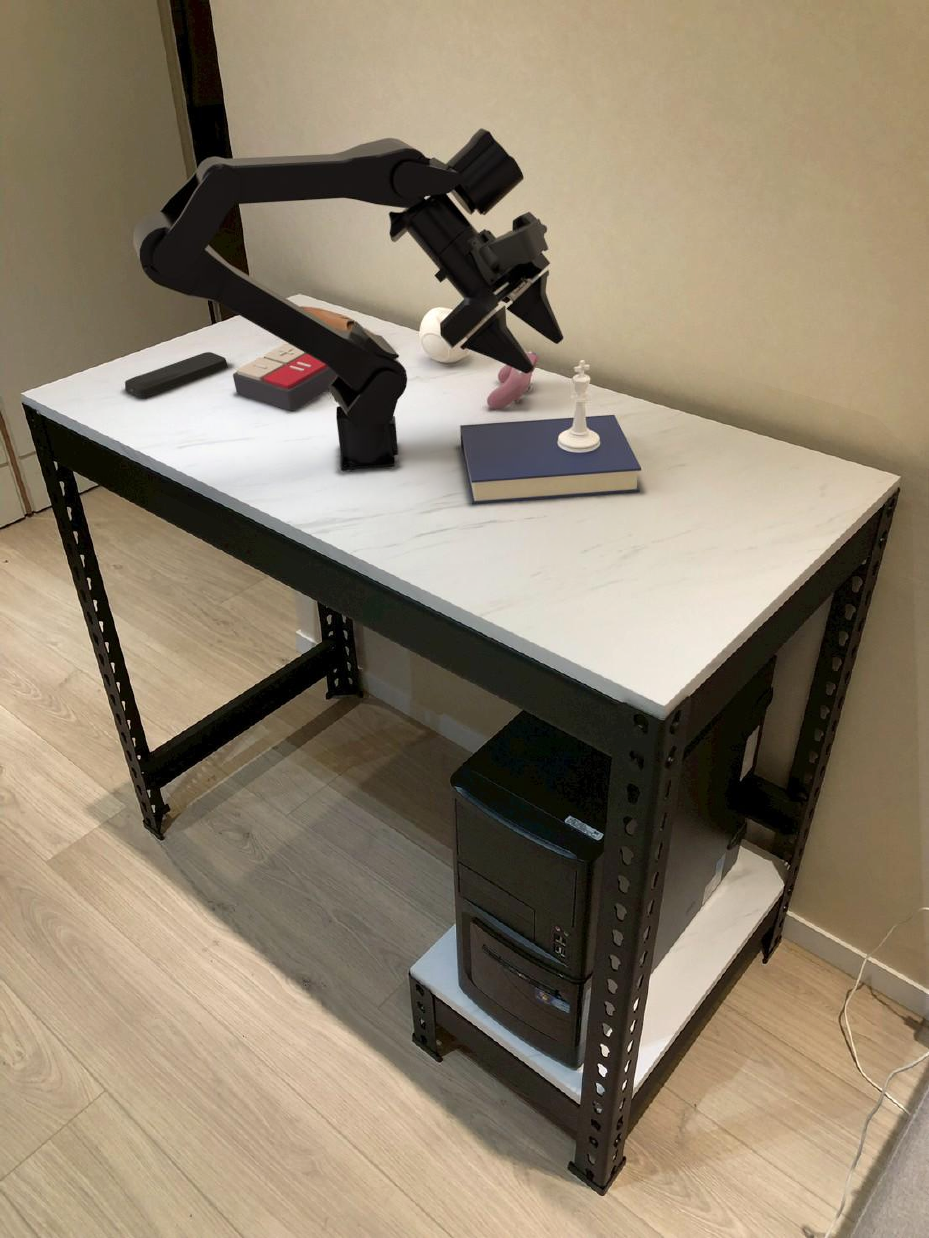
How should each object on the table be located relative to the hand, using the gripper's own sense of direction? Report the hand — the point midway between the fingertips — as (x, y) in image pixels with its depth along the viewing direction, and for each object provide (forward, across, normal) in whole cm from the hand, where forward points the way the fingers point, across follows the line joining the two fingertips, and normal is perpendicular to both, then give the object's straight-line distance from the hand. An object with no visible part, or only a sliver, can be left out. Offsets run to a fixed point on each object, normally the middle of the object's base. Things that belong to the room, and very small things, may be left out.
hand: (546, 355), depth 110 cm
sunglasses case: (-22, +25, +40) cm, 52 cm away
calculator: (-19, +9, +38) cm, 43 cm away
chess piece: (+10, 0, +4) cm, 11 cm away
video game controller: (+2, +16, +17) cm, 23 cm away
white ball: (-8, +24, +27) cm, 37 cm away
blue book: (+10, -2, +8) cm, 13 cm away
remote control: (-32, +4, +50) cm, 59 cm away
